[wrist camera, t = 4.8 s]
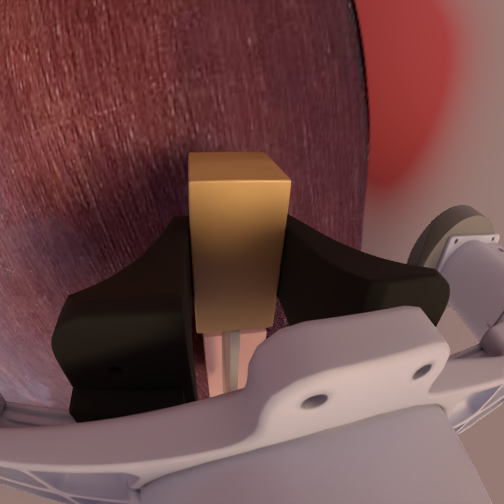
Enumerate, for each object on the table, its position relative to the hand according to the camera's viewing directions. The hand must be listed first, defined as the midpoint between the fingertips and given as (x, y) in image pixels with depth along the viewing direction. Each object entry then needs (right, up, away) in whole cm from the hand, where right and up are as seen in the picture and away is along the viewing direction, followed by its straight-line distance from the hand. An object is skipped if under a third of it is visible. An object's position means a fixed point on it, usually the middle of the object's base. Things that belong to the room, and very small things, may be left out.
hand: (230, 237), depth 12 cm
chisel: (-1, -3, +3) cm, 5 cm away
